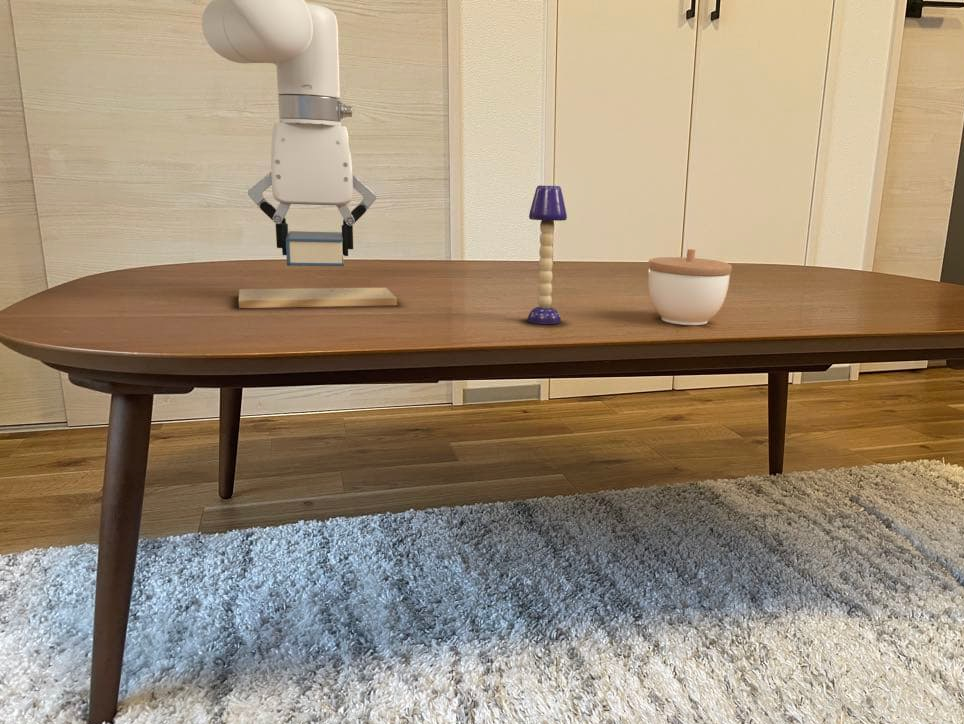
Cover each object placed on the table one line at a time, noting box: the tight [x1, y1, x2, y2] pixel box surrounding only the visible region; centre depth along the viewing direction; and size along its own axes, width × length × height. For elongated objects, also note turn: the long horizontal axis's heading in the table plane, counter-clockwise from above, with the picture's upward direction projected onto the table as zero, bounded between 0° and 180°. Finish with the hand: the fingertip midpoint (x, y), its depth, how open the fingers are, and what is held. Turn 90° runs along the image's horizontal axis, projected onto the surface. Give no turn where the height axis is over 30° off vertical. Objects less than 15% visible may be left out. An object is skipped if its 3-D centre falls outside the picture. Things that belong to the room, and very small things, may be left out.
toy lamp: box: [527, 185, 568, 325], centre depth 97 cm, size 5×5×17 cm
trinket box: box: [647, 248, 733, 326], centre depth 102 cm, size 11×11×9 cm
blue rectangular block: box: [285, 230, 345, 267], centre depth 104 cm, size 10×7×3 cm
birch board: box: [238, 287, 398, 309], centre depth 106 cm, size 20×9×1 cm, turn 109°
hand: (315, 253), depth 104 cm, fingers closed on blue rectangular block, 7 cm apart
